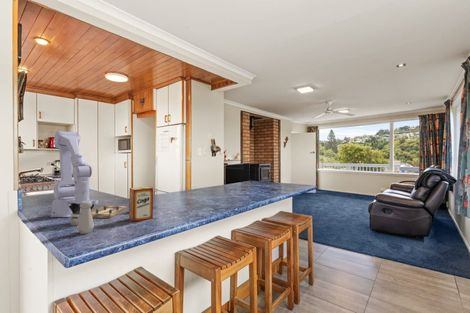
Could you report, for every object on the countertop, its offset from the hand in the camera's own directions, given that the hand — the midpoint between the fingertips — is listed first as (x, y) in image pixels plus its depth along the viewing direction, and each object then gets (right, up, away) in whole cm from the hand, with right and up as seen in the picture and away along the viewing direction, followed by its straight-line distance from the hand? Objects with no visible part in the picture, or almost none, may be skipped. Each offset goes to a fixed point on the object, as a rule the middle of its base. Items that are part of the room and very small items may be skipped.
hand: (81, 219), depth 106 cm
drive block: (0, -1, 0) cm, 1 cm away
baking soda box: (+25, -2, +8) cm, 26 cm away
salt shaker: (+11, -2, -13) cm, 17 cm away
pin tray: (+3, -1, +16) cm, 16 cm away
